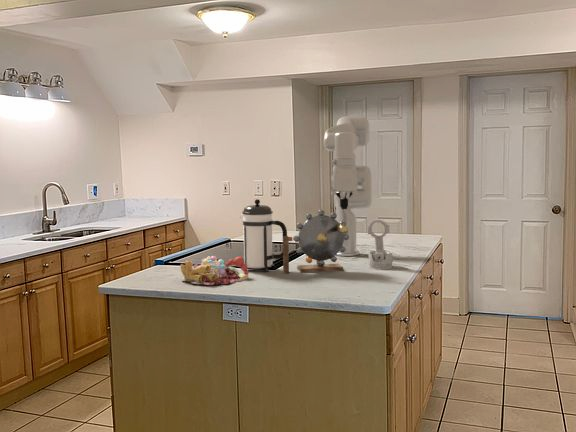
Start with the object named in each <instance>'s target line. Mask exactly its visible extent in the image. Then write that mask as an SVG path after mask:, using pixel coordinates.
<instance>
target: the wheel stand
mask: <svg viewBox="0 0 576 432" xmlns="http://www.w3.org/2000/svg"><path fill="white" fill-rule="evenodd" d="M293 237H294V236H288V235H287V236H283V235H282V251H283V257H282V261H283V262H282V264H283V265H282V272H283V274H289V273H290V257H289V256H290V254H289V253H290V252H289V251H290V249H289V248H290V247H289V246H290V245H289V244H290V243H289V242H293V241H294V240H293ZM296 269H297V271H299V272H300V273H305V274H306V273H321V272H322V273H323V272H339V271H340V272H342V271H344V266H342V265H341V264H339V263H325V264H324V265H323V266H320V265H319V264H318V260H316V264H303V265H301V264H300V265H299V264H298V265H296Z"/></svg>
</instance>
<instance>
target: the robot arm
mask: <svg viewBox="0 0 576 432" xmlns="http://www.w3.org/2000/svg"><path fill="white" fill-rule="evenodd" d="M369 143H370V122H369V119H368V118H367V117H366V116H363V115H349V116H348V115H345V116H342V117H340V118H339V119H338V120H337V122H336V125H335V126H331V127H329V128H327V129H326V131H325V132H324V136H323V146H324V149H325V150H326V151H328V152H334V159H333V160H331V161H330V163H331V164H332V165H333V167H332V171H331V178H330V180H331V181H330V189H331V190H330V194H331V195H334V205H335V211H336V212H335V213H336V215H337V217H336V221H337V222H338V223H340V222H341V221H343V222H345V223H346V226H345V227H347V228H348V232H347V233H346V234H347V235H349V239H348V240H345V239H344V242H343V245H342V246H343V247H345V248H346V251H345V252H343V253H342V252H340V251H339V252H338V253H337V254H336V255H335V256H339V257H354V256H355V257H356V256H359V255H360V251H359V250H357V217H356V214H355V213H354V212H353V211H352V209H353V210H354V209H355V210H357V209H362V210H363V209H369V208H370V207H371V206H372V201H373V200H372V199H373V198H372V194H373V192H372V191H373V190H372V171H371V168H370V167H369V166H366V165H356V164H357V163H356V154H355V150H356V149H357V148H358V147H365V146H368V144H369ZM358 187H360V188H358Z"/></svg>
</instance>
